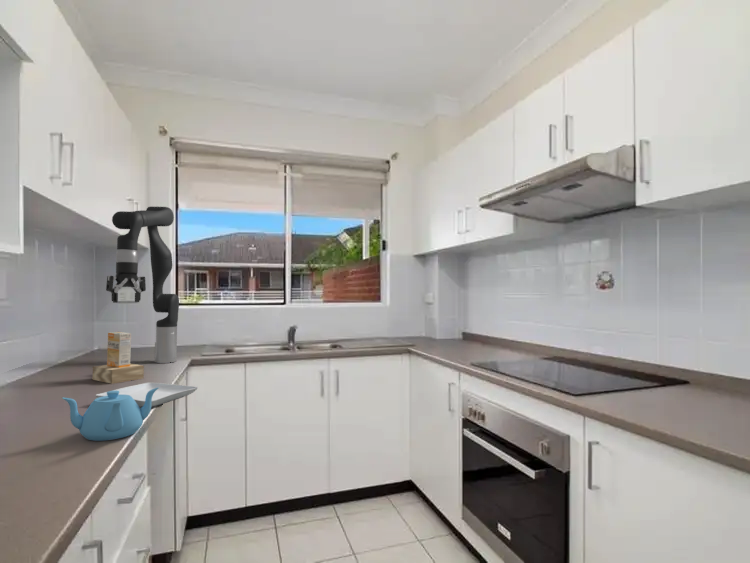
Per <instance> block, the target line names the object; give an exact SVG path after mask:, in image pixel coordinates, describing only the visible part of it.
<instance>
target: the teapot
mask: <svg viewBox="0 0 750 563" xmlns="http://www.w3.org/2000/svg"><path fill="white" fill-rule="evenodd" d="M158 388H159V387H158ZM158 388H155V389H152V390H150V391H149V392H148V393H147V395H146V399H145V404H144V406H143V407H139V406H138V405H137V403H136V402H135V400H134V399H133V398H132V397H131V396H130V395H118V394H119V391H116V389H114V390H115V391H112V390H108V391H109V392H108V391H106V392H107V395H108V396H103V397H99V398H97V397H96V398H95V399H93V401H92V402H91V403H90V404H89V406H88V408H87V409H86V410H85V412H84V413H83V415H81V414H80V413H79V411H78V404H77V403H78V402H77V401H76V400H75V399H74V398H70V397H62V399H63V400H65V402H67V404H68V406H69V411H70V412H69V413H70V414H69V415H70V416H69V418H70V422H71V424H72V426H73V427H75V428H76V429H78V430H79V433H80V434H81V435H82V437H84V438H85V439H86V440H88V441H96V442H100V441H101V442H102V441H112V440H113V441H114V440H118V439H122V438H127V437H129V436H132V435H133V434H135V433H137V431H138V430H139V429H140V428H141V427H142V426H143V423H144V421H145V420H146V419H147V418H148V416H149V415H150V413H151V411H152V407H151V402H152V396H153V394H154V392H155V391H156V390H157V389H158Z"/></svg>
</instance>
